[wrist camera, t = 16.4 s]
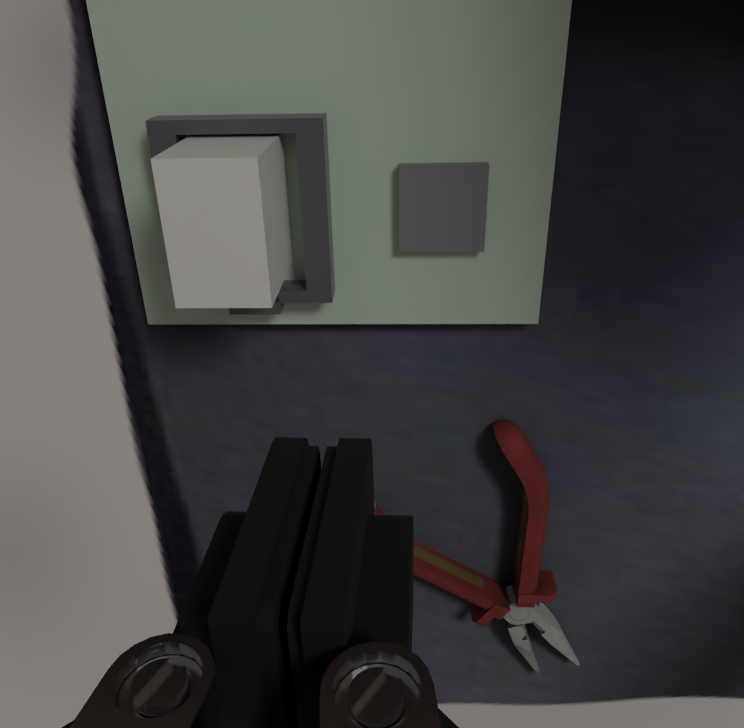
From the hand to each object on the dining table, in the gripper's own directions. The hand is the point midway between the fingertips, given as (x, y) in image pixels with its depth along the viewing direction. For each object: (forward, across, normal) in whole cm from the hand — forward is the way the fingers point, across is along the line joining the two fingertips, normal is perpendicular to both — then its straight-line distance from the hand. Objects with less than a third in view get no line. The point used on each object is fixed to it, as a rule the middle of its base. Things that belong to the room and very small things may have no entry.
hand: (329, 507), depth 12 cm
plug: (+22, +7, 0) cm, 23 cm away
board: (+23, +3, -5) cm, 24 cm away
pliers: (+24, -4, +23) cm, 34 cm away
